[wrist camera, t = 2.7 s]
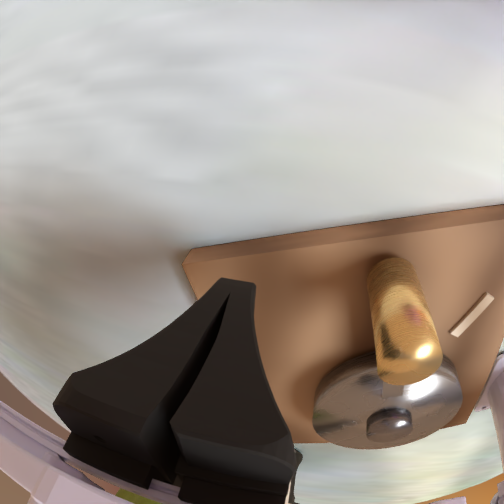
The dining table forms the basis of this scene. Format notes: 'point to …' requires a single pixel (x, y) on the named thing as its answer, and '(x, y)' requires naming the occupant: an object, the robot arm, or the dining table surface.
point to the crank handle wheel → (390, 371)
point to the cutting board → (364, 298)
